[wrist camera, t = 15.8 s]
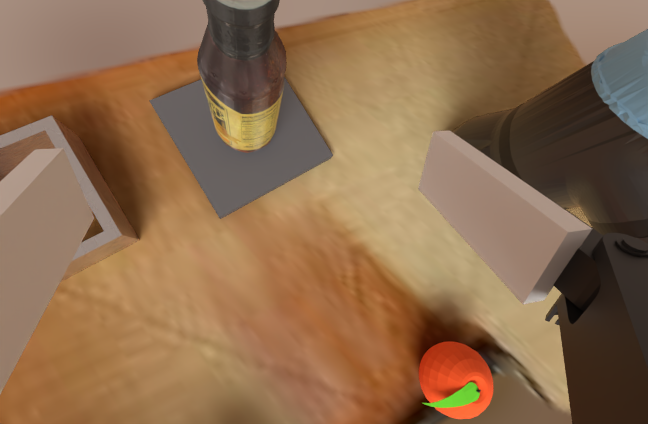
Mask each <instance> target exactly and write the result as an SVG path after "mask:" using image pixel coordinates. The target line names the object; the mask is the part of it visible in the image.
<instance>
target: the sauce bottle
mask: <svg viewBox="0 0 648 424" xmlns="http://www.w3.org/2000/svg"><path fill="white" fill-rule="evenodd" d="M203 2H204V4H205V5H206V9H207V14H208V25H207V28H206V31H205V34H204V37H203V40H202V43H201V46H200V49H199V52H198V58H197V62H198V69H199V73H200V76H201V80H202V83H203V87H204V90H205V94H206V98H207V101H208V105H209V108H210V111H211V115H212V118H213V122H214V125H215V128H216V131H217V133H218V135H219V136H220V137H221V139H222V140H223V142H224V143H225V144H226V145H228V146H230V147H231V148H233V149H235V150H238V151H241V152H246V153H249V152H253V151H257V150H259V149H261V148H263V147H264V146H266V145H267V144H269V143H270V141H271V138H272V137H273V135H274V133H275V130H276V125H277V119H278V115H279V109H280V104H281V99H282V94H283V89H284V75H285V71H286V51H285V48H284V46H283V44H282V41H281V39H280V38H279V36H278V34H277V32H276V31H275V30H274V13H275V11H276V10H277V7H278V5H279V0H203Z"/></svg>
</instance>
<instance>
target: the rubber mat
mask: <svg viewBox="0 0 648 424" xmlns="http://www.w3.org/2000/svg"><path fill="white" fill-rule="evenodd" d="M150 103H151V104H152V106H153V108H154V109H155V111H156V113H157V114H158V116H159V118H160V119H161V121H162V123H163V124H164V126H165V128H166V129H167V131H168V133H169V134H170V136H171V138H172V139H173V141H174V143H175V144H176V146H177V148H178V149H179V151H180V153H181V154H182V156H183V158H184V159H185V161H186V163H187V164H188V166H189V168H190V169H191V171H192V173H193V174H194V176H195V178H196V179H197V181H198V183H199V184H200V186H201V188H202V189H203V191H204V193H205V194H206V196H207V198H208V199H209V201H210V203H211V204H212V206H213V208H214V209H215V211H216V213H217V214H218V216H219V218H220V219H221V218H223V217H225V216H226V215H228V214H230V213H232V212H234V211H236V210H237V209H239V208H241V207H243V206H245V205H247V204H248V203H250V202H252V201H254V200H256V199H257V198H259V197H261V196H263V195H265V194H267V193H268V192H270V191H272V190H274V189H276V188H278V187H279V186H281V185H283V184H285V183H287V182H288V181H290V180H292V179H294V178H296V177H298V176H299V175H301V174H303V173H305V172H307V171H309V170H310V169H312V168H314V167H316V166H318V165H319V164H321V163H323V162H325V161H327V160H329V159H330V158H331V157H332V156H333V154H332V153H331V151H330V150H329V148H328V146H327V145H326V143H325V142H324V140H323V138H322V137H321V135H320V133H319V132H318V130H317V129H316V127H315V125H314V124H313V122H312V120H311V119H310V117H309V116H308V114H307V112H306V111H305V109H304V108H303V106H302V104H301V103H300V101H299V99H298V98H297V96H296V95H295V93H294V91H293V90H292V88H291V87H290V85H289V83H288V82H287V80H286V78H285V77H284V89H283V94H282V99H281V104H280V109H279V115H278V119H277V125H276V130H275V133H274V135H273V137H272V138H271V141H270V143H269V144H267V145H266V146H264V147H263V148H261V149H259V150H257V151H253V152H249V153H246V152H241V151H238V150H235V149H233V148H231V147H230V146H228V145H226V144H225V143H224V142H223V140H222V139H221V137H220V136H219V135H218V133H217V131H216V128H215V125H214V122H213V118H212V115H211V111H210V108H209V105H208V101H207V98H206V94H205V90H204V87H203V83H202V80H198V81H196V82H193V83H191V84H189V85H186V86H184V87H181V88H179V89H176V90H174V91H172V92H169V93H167V94H164V95H162V96H159V97H157V98H155V99H152V100H150Z"/></svg>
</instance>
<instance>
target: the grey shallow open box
mask: <svg viewBox="0 0 648 424" xmlns="http://www.w3.org/2000/svg"><path fill="white" fill-rule="evenodd" d="M56 148H63V149H64V151H65V153H66V155H67V158H68V160H69V162H70V164H71V167H72V169H73V171H74V174H75V176H76V178H77V180H78V183H79V185H80V187H81V189H82V192H83V194H84V196H85V198H86V201H87V203H88V204H89V206H90V208H91V210H92V211H93V213H94V215H95V216H96V218H97V220H98V222H99V223H100V225H101V227H102V228H103V230H104V231H103V232H101V233H99V234H97V235H95V236H93V237H91V238H89V239H87V240H85V241H83V242H82V243H81V244H80V246H79V248H78V250H77V251H76V253H75V255H74V257H73V259H72V261H71V263H70V265H69V266H68V268H67V270H66V272H65V274H64V276H63V278H62V280H61V281H63V280H65V279H67V278H69V277H70V276H72V275H74V274H76V273H78V272H80V271H82V270H84V269H86V268H87V267H89V266H91V265H93V264H95V263H97V262H99V261H101V260H103V259H105V258H106V257H108V256H110V255H112V254H114V253H116V252H118V251H120V250H122V249H123V248H125V247H127V246H129V245H131V244H133V243H135V242H137V241H139V238H138V236H137V235H136V233H135V231H134V229H133V228H132V226H131V224H130V223H129V221H128V219H127V217H126V216H125V214H124V212H123V211H122V209H121V207H120V206H119V204H118V202H117V200H116V199H115V197H114V195H113V194H112V192H111V190H110V189H109V187H108V185H107V183H106V182H105V180H104V178H103V177H102V175H101V173H100V172H99V170H98V168H97V166H96V165H95V163H94V161H93V160H92V158H91V156H90V154H89V153H88V151H87V149H86V148H85V146H84V144H83V143H82V141H81V139H80V137H79V136H78V135H77V134H75V133H74V132H73V131H71V130H70V129H69V128H68V127H66V126H65V125H64V124H62V123H61V122H60V121H58V120H57V119H56V118H55V117H53V116H52V115H51V116H49V117H46V118H44V119H41V120H39V121H36V122H34V123H31V124H28V125H26V126H23V127H21V128H18V129H16V130H13V131H11V132H8V133H6V134H3V135H0V180H2V179H3V178H5V177H6V176H7V175H8V174H9V173H10V172H11V171H12V170H13V169H14V168H15V167H16V166H18V165H19V164H20V163H21V162H22V161H23V160H24V159H25V158H26V157H27V156H28V155H29V154H31V153H32V152H33V151H34V150H35V149H56ZM61 281H60V282H61Z"/></svg>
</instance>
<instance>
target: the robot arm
mask: <svg viewBox="0 0 648 424" xmlns="http://www.w3.org/2000/svg"><path fill="white" fill-rule="evenodd" d="M418 189H419V190H420V191H421V193H422V194H423V195H424V196H425V197H426V198H427V199H428V200H429V201H430V202H431V204H432V205H433V206H434V207H435V208H436V209H437V210H438V211H439V212H440V214H441V215H442V216H443V217H444V218H445V219H446V220H447V221H448V222H449V223H450V225H451V226H452V227H453V228H454V229H455V230H456V231H457V232H458V233H459V234H460V236H461V237H462V238H463V239H464V240H465V241H466V242H467V243H468V244H469V245H470V247H471V248H472V249H473V250H474V251H475V252H476V253H477V254H478V255H479V256H480V258H481V259H482V260H483V261H484V262H485V263H486V264H487V265H488V266H489V267H490V269H491V270H492V271H493V272H494V273H495V274H496V275H497V276H498V277H499V278H500V280H501V281H502V282H503V283H504V284H505V285H506V286H507V287H508V288H509V290H510V291H511V292H512V293H513V294H514V295H515V296H516V297H517V298H518V299H519V301H520V302H521V303H522V304H527V303H532V302H537V301H542V300H544V299H545V298H546V296H547V295H548V293H549V292H550V291H551V289H552V288H553V286H555V287H556V288H557V289H558V290H559V291H560V292H561V293H562V294H561V295H560V297H559V298H558V299H557V301H556V302H555V304H554V305H553V306H552V308H551V309H550V311H549V312H548V313H547V315H546V319H545V320H546V321H550V320H551V319H552V317H553V316H554V315H558V317H559V319H558V320H557V321H556V323H555V324H557V325H560V332H561V340H562V347H563V355H564V363H565V370H566V378H567V386H568V393H569V401H570V409H571V416H572V424H648V29H647V30H645V31H643V32H641V33H639V34H638V35H636V36H634V37H632V38H630V39H629V40H627V41H625V42H623V43H620V44H617V45H614V46H612V47H610V48H608V49H606V50H605V51H603V52H602V53H601V54H599V55H598V56H597V58H596V60H595V61H593V62H592V63H590V64H588V65H587V66H585V67H583V68H582V69H580V70H578V71H576V72H575V73H573V74H571V75H570V76H568V77H566V78H565V79H563V80H561V81H560V82H558V83H556V84H555V85H553V86H551V87H550V88H548V89H546V90H545V91H543V92H541V93H540V94H538V95H536V96H535V97H533V98H531V99H530V100H528V101H527V102H525V103H523V104H522V105H520V106H518V107H517V108H515V109H510V110H506V111H501V112H496V113H491V114H487V115H482V116H478V117H475V118H473V119H470V120H468V121H467V122H465V123H464V124H462V125H461V126H459V127H458V128H456V129H455V130H453V131H452V132H451V131H433V134H432V138H431V142H430V146H429V149H428V153H427V157H426V161H425V165H424V169H423V173H422V176H421V180H420V184H419V188H418ZM574 207H581V209H582V210H583V212H584V214H585V216H586V217H587V219H588V220H589V222H590V224H591V225H592V227H593V228H592V227H590V226H589V225H587V224H586V223H584V222H583V221H581V220H580V219H579V218H577V217H576V216H574V215H573V214H571V213H570V212H568V211H567V210H565V209H569V208H574ZM93 220H94V216H93V214H92V212H91V210H90V207H89V205H88V203H87V201H86V198H85V196H84V194H83V192H82V189H81V187H80V185H79V183H78V180H77V178H76V176H75V174H74V171H73V169H72V167H71V164H70V162H69V160H68V158H67V155H66V153H65V151H64V149H63V148H56V149H35V150H34V151H33V152H32V153H31V154H29V155H28V156H27V157H26V158H25V159H24V160H23V161H22V162H21V163H20V164H19V165H18V166H16V167H15V168H14V169H13V170H12V171H11V172H10V173H9V174H8V175H7V176H6V177H5V178H3V179H2V180H1V181H0V394H1V392H2V390H3V388H4V386H5V385H6V383H7V381H8V379H9V377H10V375H11V373H12V371H13V370H14V368H15V366H16V364H17V362H18V360H19V358H20V356H21V355H22V353H23V351H24V349H25V347H26V345H27V343H28V341H29V340H30V338H31V336H32V334H33V332H34V330H35V328H36V326H37V325H38V323H39V321H40V319H41V317H42V315H43V313H44V311H45V310H46V308H47V306H48V304H49V302H50V300H51V298H52V296H53V295H54V293H55V291H56V289H57V287H58V285H59V283H60V281H61V280H62V278H63V276H64V274H65V272H66V270H67V268H68V266H69V265H70V263H71V261H72V259H73V257H74V255H75V253H76V251H77V250H78V248H79V246H80V244H81V242H82V240H83V238H84V236H85V235H86V233H87V231H88V229H89V227H90V225H91V223H92V221H93Z"/></svg>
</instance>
